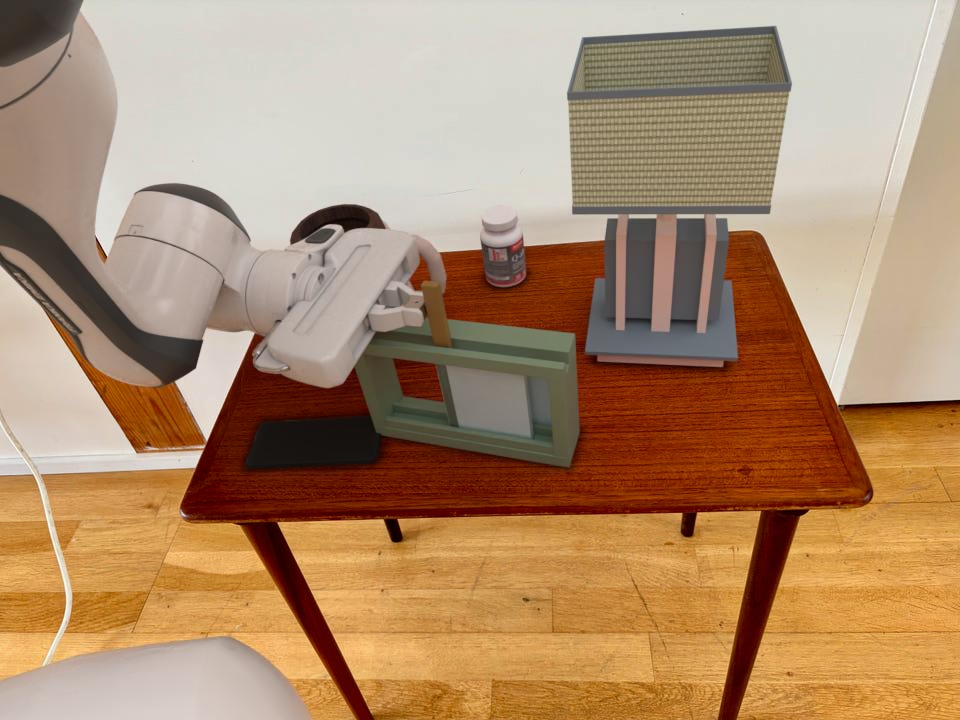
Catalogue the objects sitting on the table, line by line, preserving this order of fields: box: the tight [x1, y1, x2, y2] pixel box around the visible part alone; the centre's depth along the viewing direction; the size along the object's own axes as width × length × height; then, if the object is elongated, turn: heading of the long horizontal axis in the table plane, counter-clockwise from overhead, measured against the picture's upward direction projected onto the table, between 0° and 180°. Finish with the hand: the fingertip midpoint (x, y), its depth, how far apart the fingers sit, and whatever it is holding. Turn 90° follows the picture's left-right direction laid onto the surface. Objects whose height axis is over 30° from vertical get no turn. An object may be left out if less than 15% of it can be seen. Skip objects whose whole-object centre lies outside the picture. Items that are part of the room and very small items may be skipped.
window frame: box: [353, 316, 581, 469], centre depth 73 cm, size 5×22×14 cm, turn 72°
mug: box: [289, 203, 448, 308], centre depth 90 cm, size 20×15×15 cm
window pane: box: [420, 280, 534, 440], centre depth 69 cm, size 1×9×19 cm, turn 72°
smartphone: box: [245, 415, 383, 470], centre depth 80 cm, size 7×1×15 cm
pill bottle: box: [479, 204, 527, 288], centre depth 95 cm, size 6×6×10 cm
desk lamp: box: [566, 25, 793, 368], centre depth 76 cm, size 18×14×33 cm
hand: (427, 310), depth 66 cm, fingers closed, pressing on window pane
